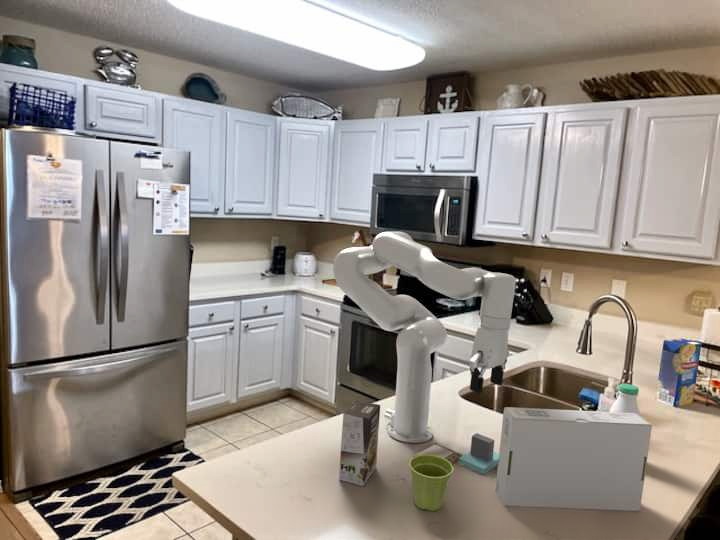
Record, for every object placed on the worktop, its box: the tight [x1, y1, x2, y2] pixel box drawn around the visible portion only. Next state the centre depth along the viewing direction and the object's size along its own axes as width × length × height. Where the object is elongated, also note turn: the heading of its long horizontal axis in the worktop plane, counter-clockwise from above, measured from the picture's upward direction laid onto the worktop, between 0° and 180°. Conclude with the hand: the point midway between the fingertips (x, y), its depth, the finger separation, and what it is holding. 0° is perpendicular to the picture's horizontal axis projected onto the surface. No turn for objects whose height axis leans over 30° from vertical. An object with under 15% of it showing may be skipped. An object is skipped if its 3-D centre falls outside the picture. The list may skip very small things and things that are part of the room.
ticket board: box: [412, 442, 463, 466], centre depth 127 cm, size 8×10×2 cm
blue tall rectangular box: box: [655, 338, 702, 408], centre depth 179 cm, size 7×11×22 cm, turn 117°
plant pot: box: [408, 455, 454, 512], centre depth 108 cm, size 9×9×9 cm
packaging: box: [495, 406, 653, 512], centre depth 112 cm, size 30×6×20 cm, turn 92°
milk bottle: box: [609, 383, 642, 418], centre depth 134 cm, size 8×8×20 cm
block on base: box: [457, 432, 499, 475], centre depth 127 cm, size 7×10×6 cm
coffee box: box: [338, 400, 381, 487], centre depth 118 cm, size 9×6×16 cm
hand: (486, 387), depth 129 cm, fingers open, 9 cm apart
